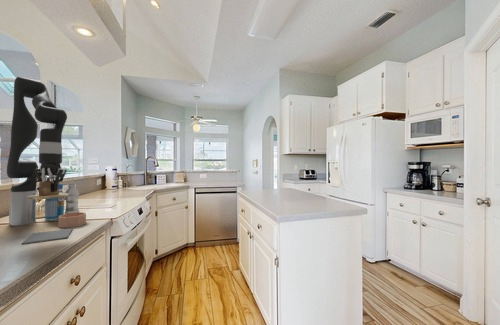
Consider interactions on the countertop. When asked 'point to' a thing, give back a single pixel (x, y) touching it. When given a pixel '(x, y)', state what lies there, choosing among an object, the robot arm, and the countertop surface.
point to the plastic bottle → (72, 199)
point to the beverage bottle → (54, 206)
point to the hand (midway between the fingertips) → (50, 191)
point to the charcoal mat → (48, 236)
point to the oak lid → (47, 192)
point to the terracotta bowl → (72, 219)
